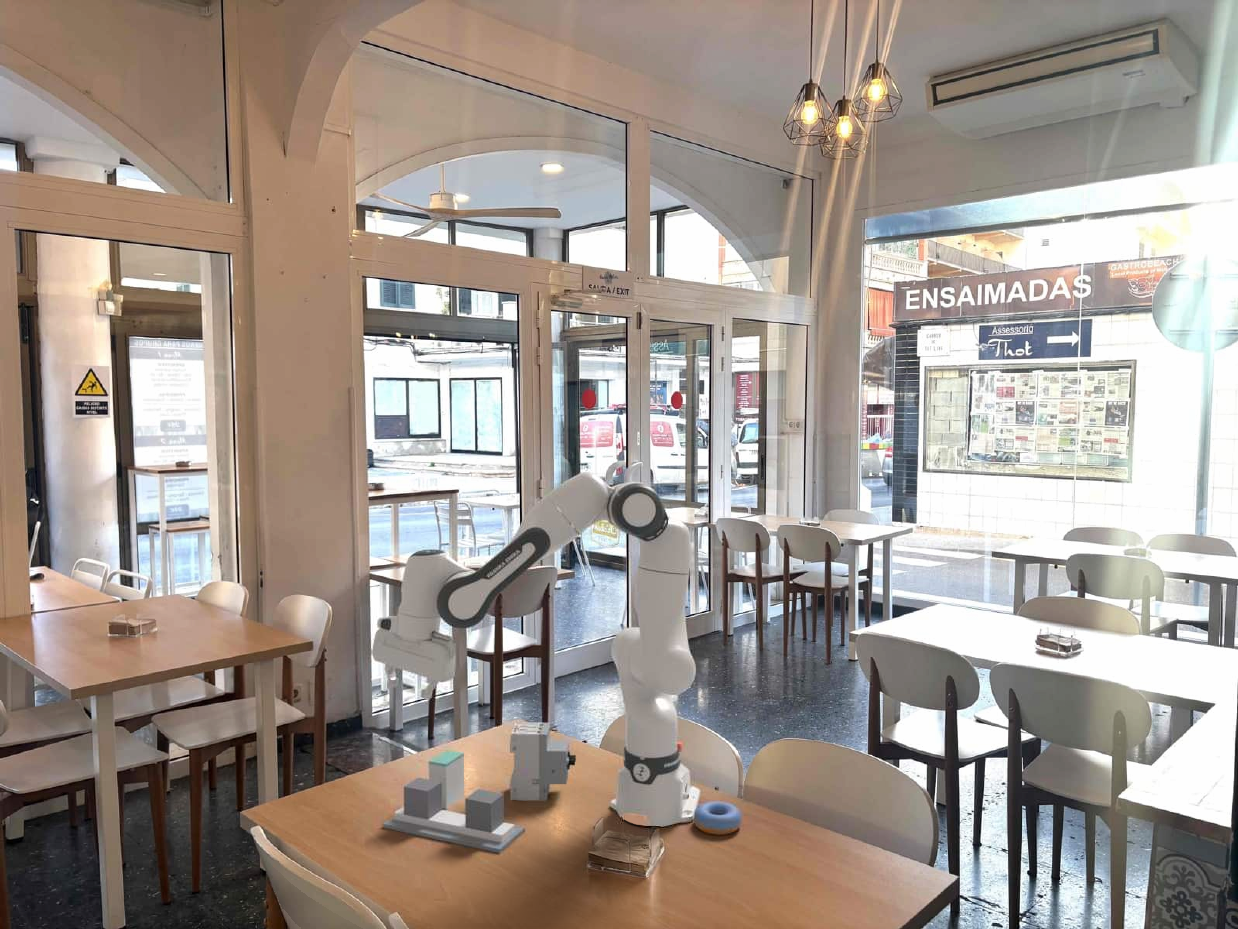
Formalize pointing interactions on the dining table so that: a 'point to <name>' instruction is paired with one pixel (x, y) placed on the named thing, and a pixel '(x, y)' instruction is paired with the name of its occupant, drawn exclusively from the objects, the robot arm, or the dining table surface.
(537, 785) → the circuit breaker
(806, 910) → the dining table surface
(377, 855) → the dining table surface
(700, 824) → the doughnut
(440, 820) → the rail assembly
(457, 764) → the block
